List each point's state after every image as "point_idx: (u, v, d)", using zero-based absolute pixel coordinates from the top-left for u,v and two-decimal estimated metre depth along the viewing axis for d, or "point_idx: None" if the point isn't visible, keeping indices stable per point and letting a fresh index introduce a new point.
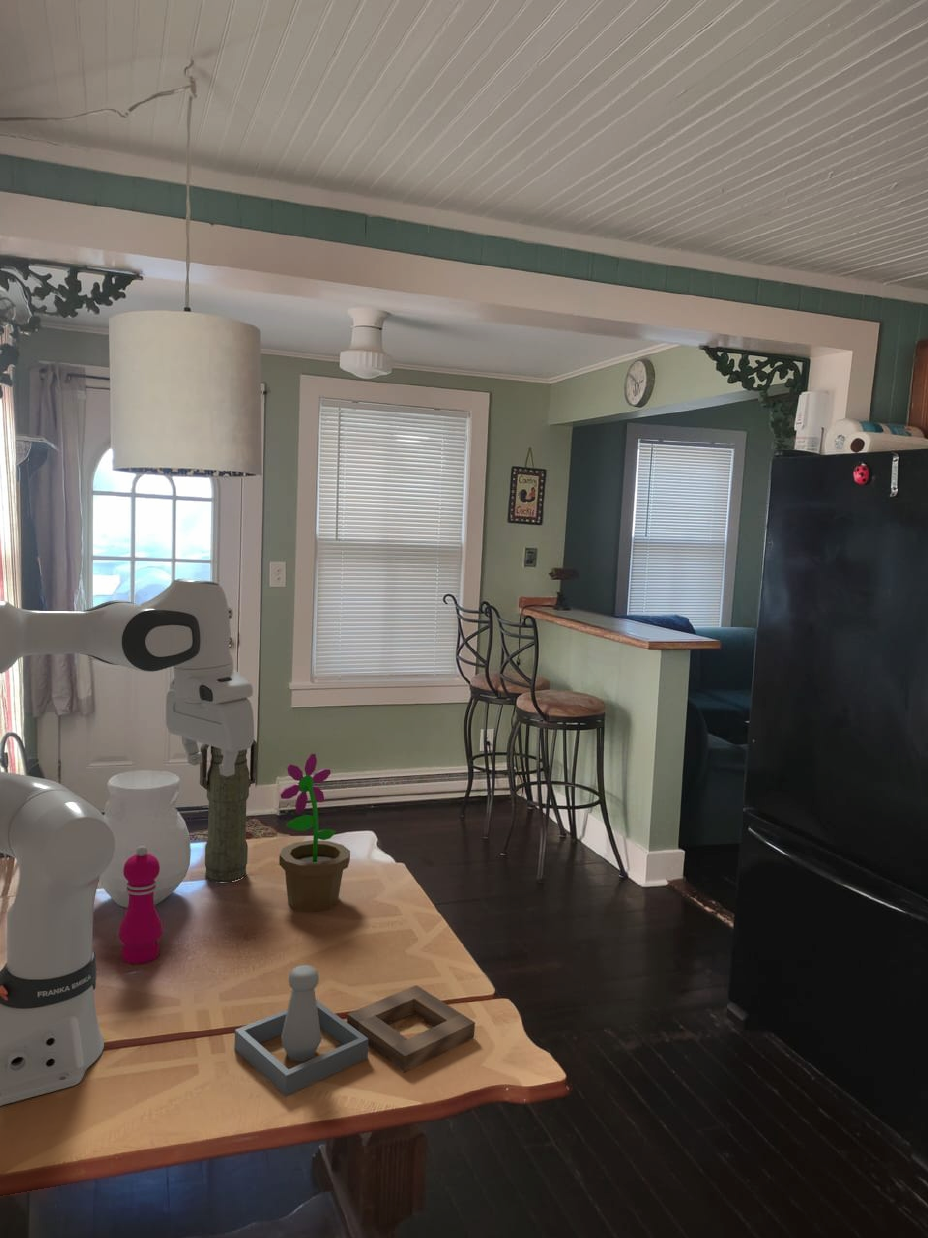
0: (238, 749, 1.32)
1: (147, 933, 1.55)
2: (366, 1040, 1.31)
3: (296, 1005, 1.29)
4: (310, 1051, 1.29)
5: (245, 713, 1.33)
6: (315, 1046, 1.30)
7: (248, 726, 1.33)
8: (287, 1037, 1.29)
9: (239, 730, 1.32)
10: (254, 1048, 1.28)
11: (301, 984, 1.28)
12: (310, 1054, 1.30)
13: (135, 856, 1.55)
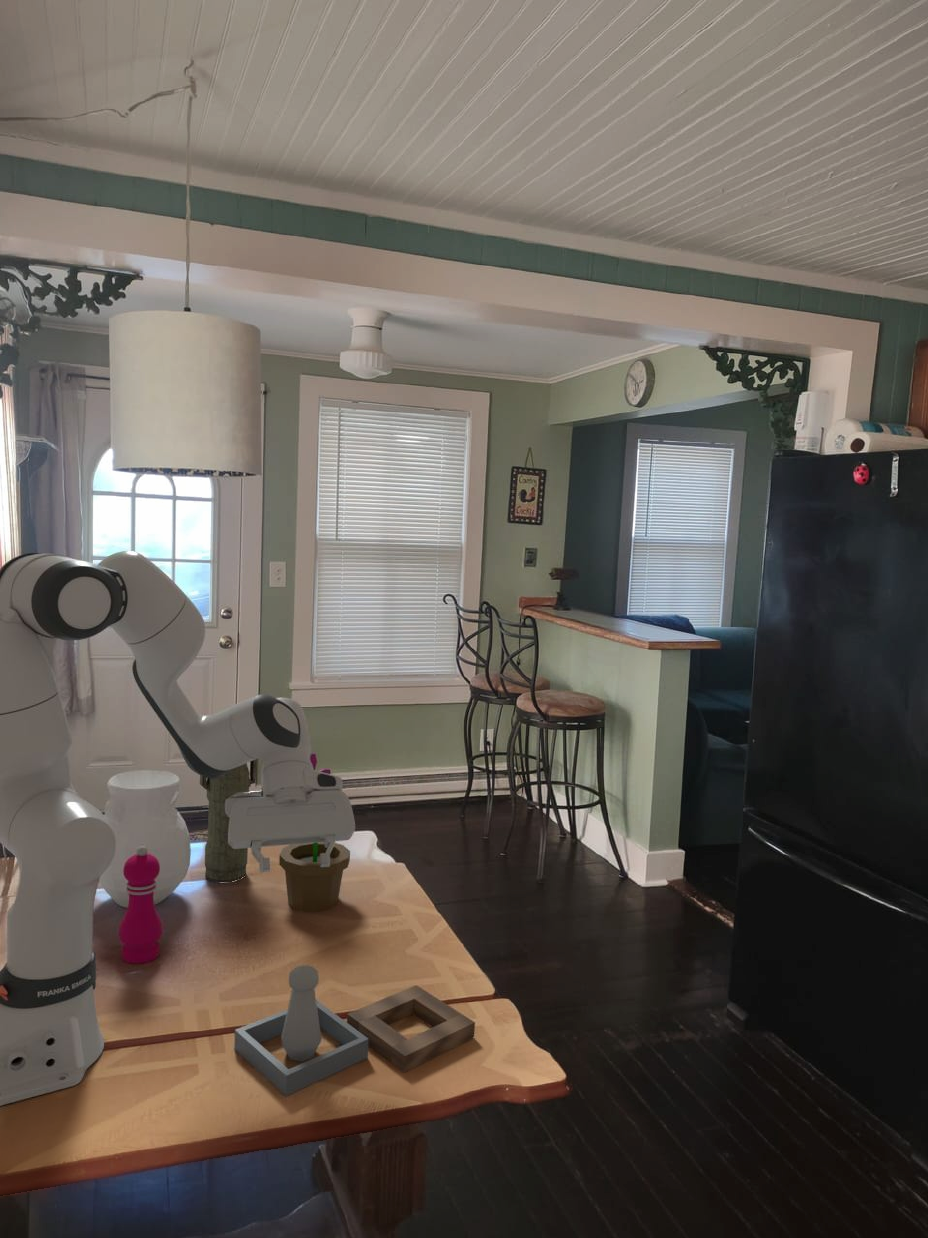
0: (353, 831, 1.46)
1: (147, 933, 1.55)
2: (366, 1040, 1.31)
3: (296, 1005, 1.29)
4: (310, 1051, 1.29)
5: None
6: (315, 1046, 1.30)
7: None
8: (287, 1037, 1.29)
9: None
10: (254, 1048, 1.28)
11: (301, 984, 1.28)
12: (310, 1054, 1.30)
13: (135, 856, 1.55)
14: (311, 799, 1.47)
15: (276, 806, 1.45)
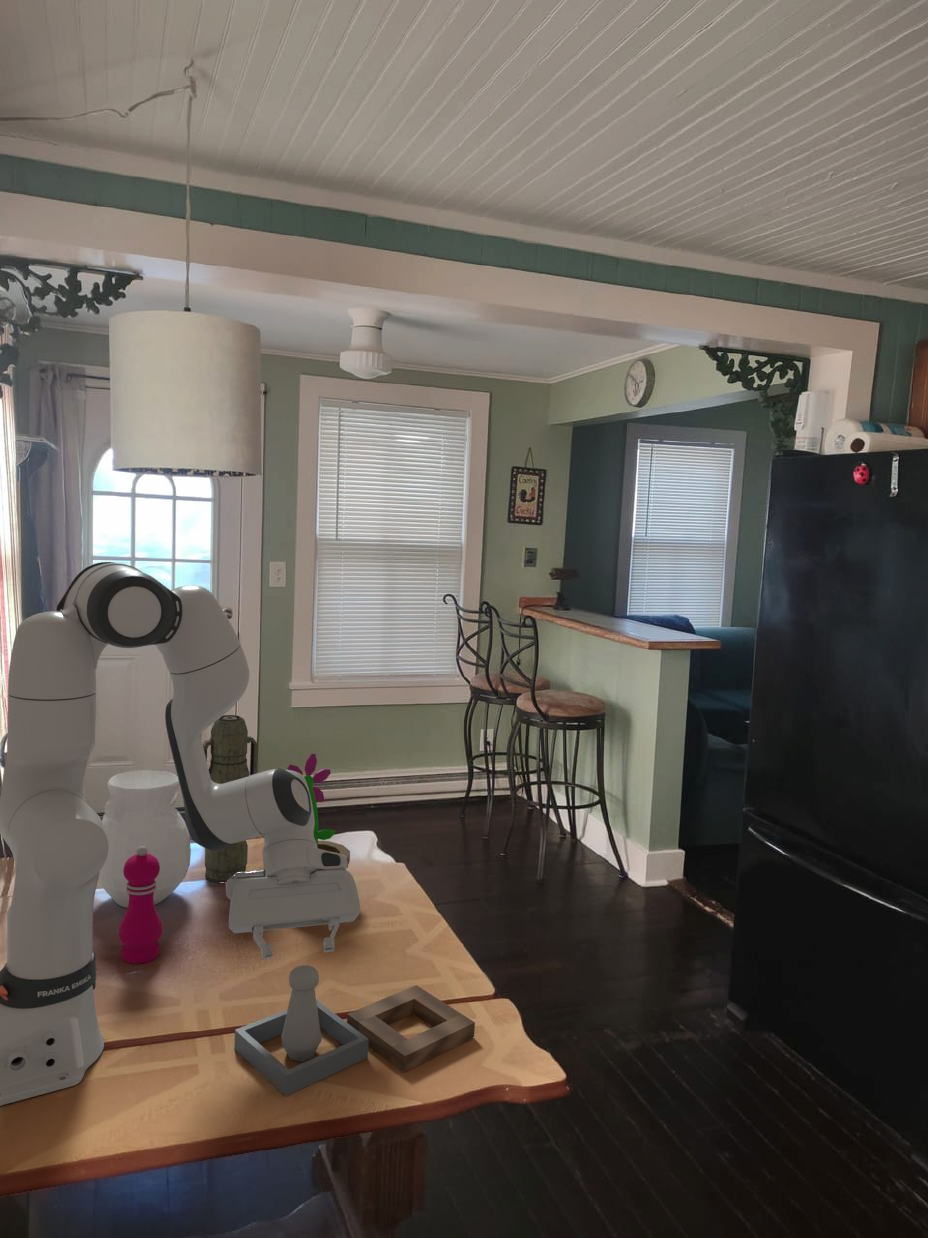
0: (358, 913, 1.42)
1: (147, 933, 1.55)
2: (366, 1040, 1.31)
3: (296, 1005, 1.29)
4: (310, 1051, 1.29)
5: None
6: (315, 1046, 1.30)
7: None
8: (287, 1037, 1.29)
9: None
10: (254, 1048, 1.28)
11: (301, 984, 1.28)
12: (310, 1054, 1.30)
13: (135, 856, 1.55)
14: (315, 879, 1.42)
15: (279, 887, 1.40)
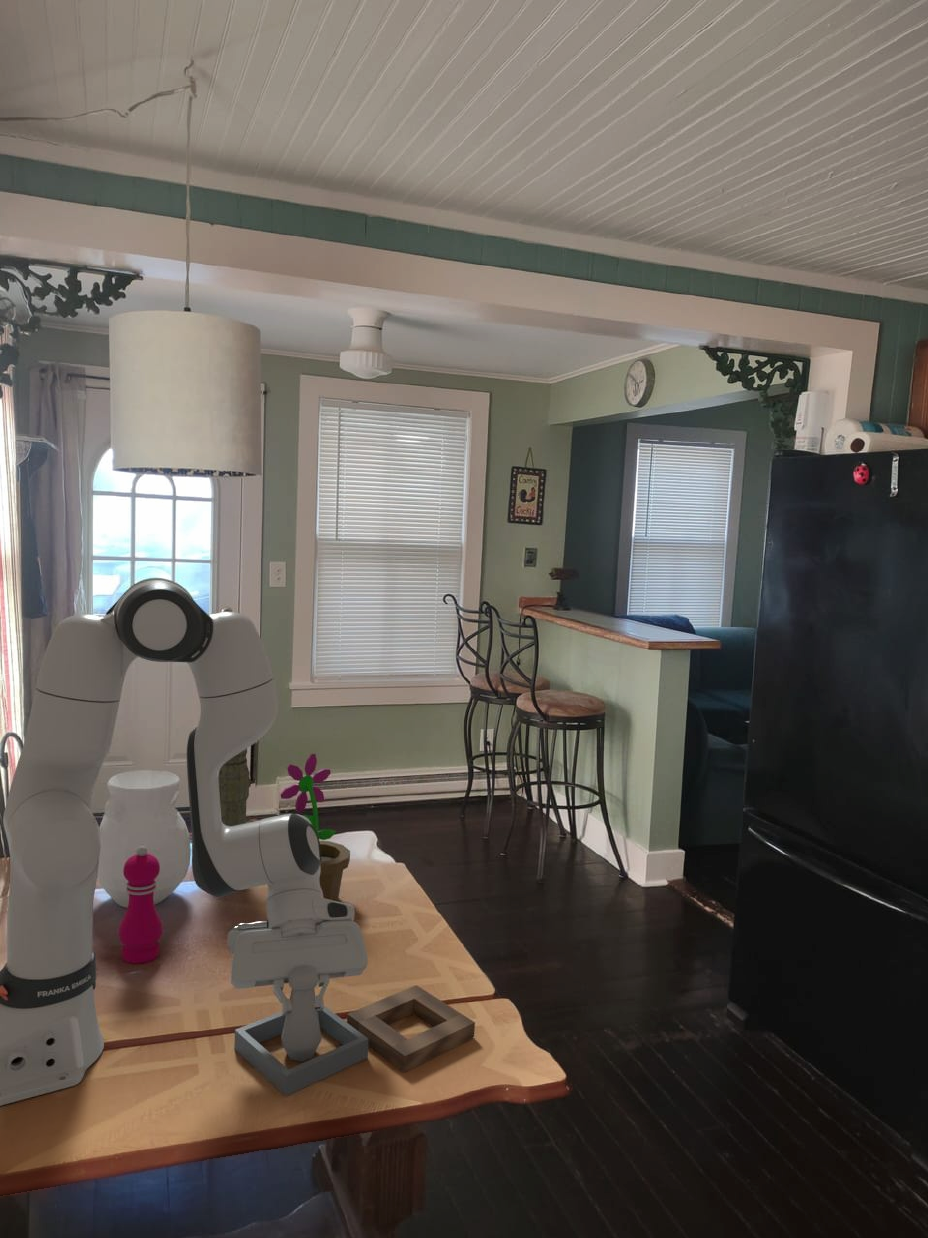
0: (365, 967, 1.36)
1: (147, 933, 1.55)
2: (366, 1040, 1.31)
3: (296, 1005, 1.29)
4: (310, 1051, 1.29)
5: None
6: (315, 1046, 1.30)
7: None
8: (287, 1037, 1.29)
9: None
10: (254, 1048, 1.28)
11: (300, 984, 1.28)
12: (310, 1054, 1.30)
13: (135, 856, 1.55)
14: (320, 931, 1.36)
15: (283, 940, 1.34)
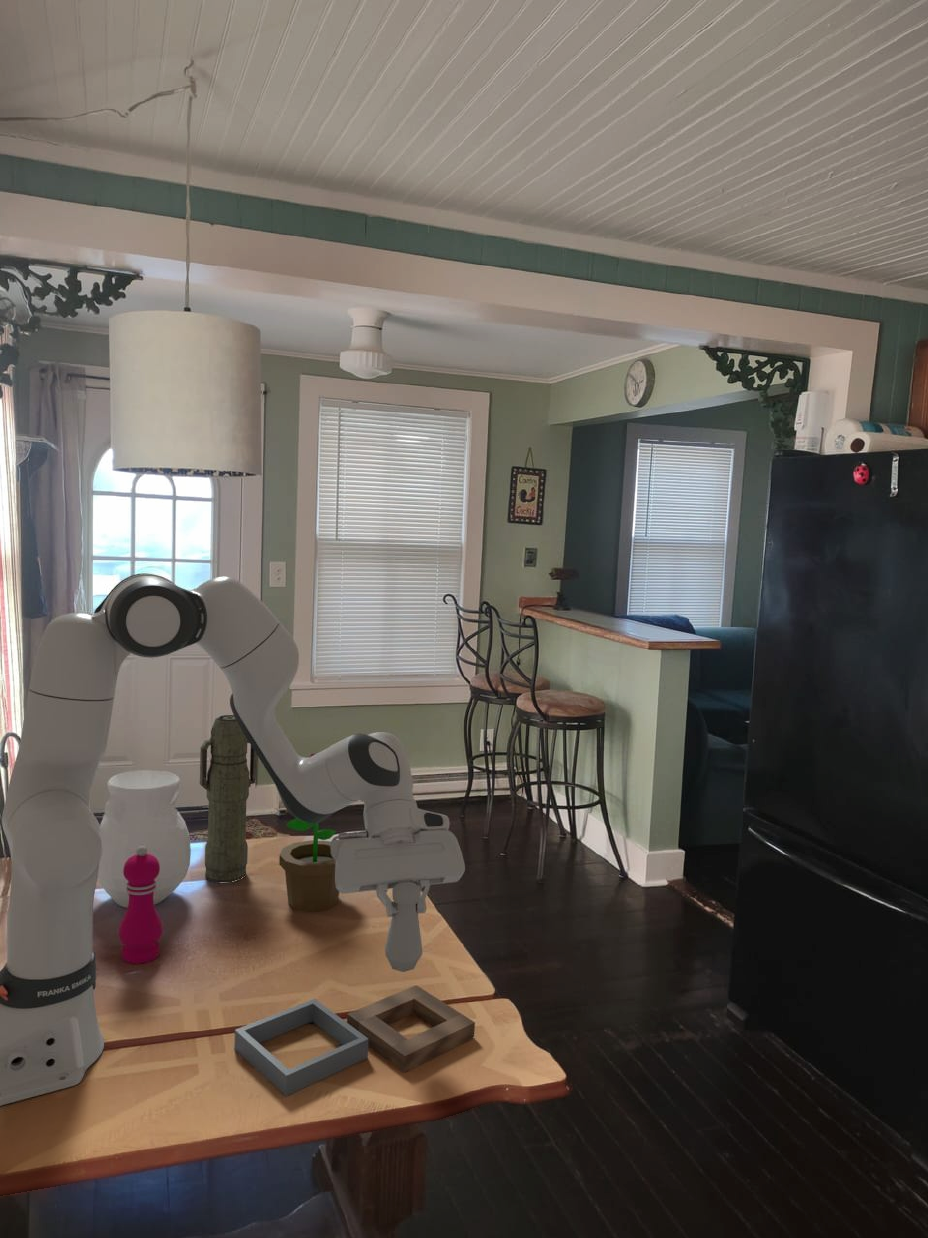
0: None
1: (147, 933, 1.55)
2: (366, 1040, 1.31)
3: (399, 918, 1.34)
4: (411, 962, 1.35)
5: None
6: (416, 958, 1.35)
7: None
8: (390, 948, 1.35)
9: None
10: (254, 1048, 1.28)
11: (403, 899, 1.33)
12: (411, 965, 1.35)
13: (135, 856, 1.55)
14: (419, 840, 1.41)
15: (383, 847, 1.39)
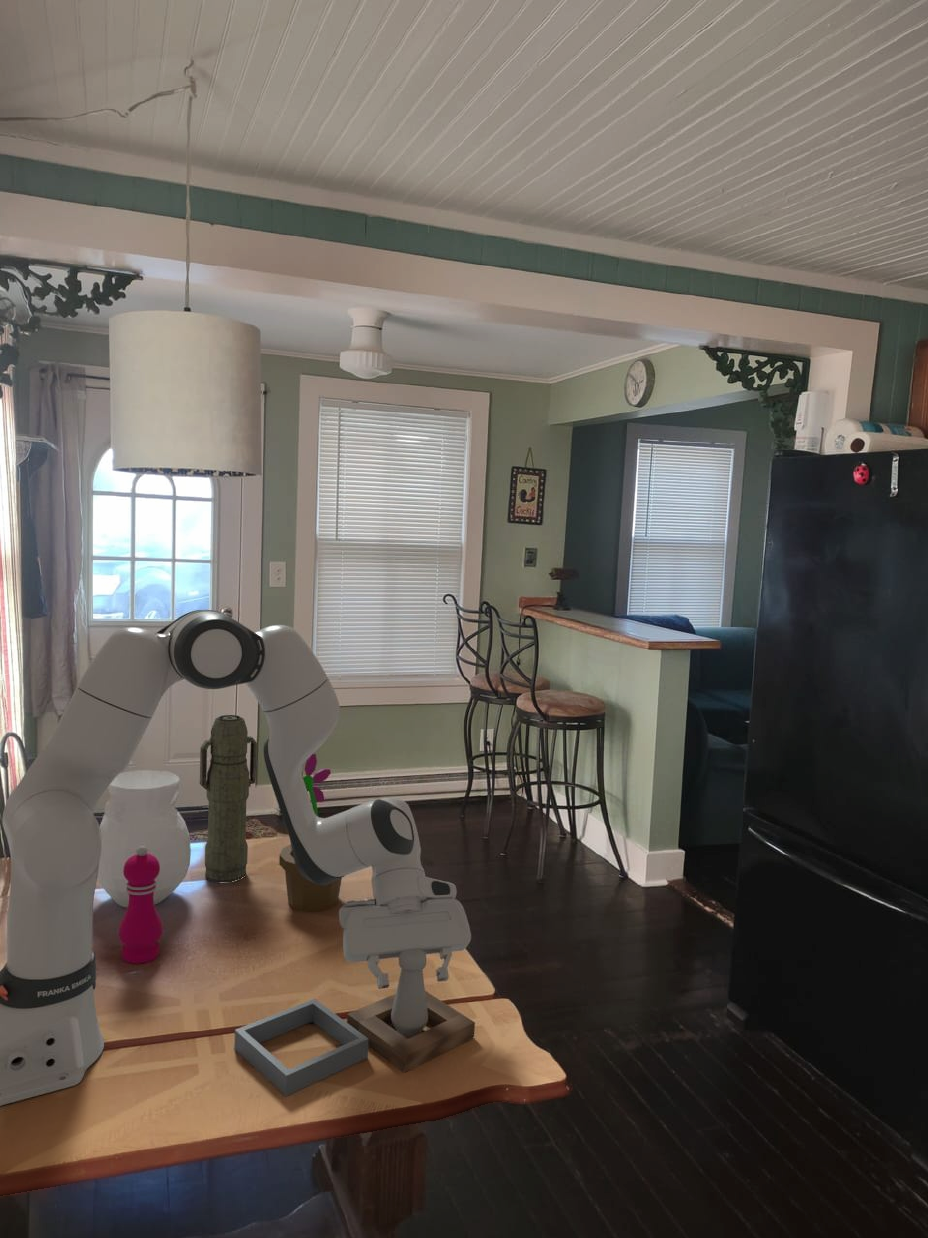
0: None
1: (147, 933, 1.55)
2: (366, 1040, 1.31)
3: (405, 985, 1.37)
4: (417, 1029, 1.36)
5: None
6: (422, 1025, 1.37)
7: None
8: (396, 1014, 1.37)
9: None
10: (254, 1048, 1.28)
11: (409, 965, 1.36)
12: (417, 1032, 1.37)
13: (135, 856, 1.55)
14: (426, 908, 1.43)
15: (391, 916, 1.41)
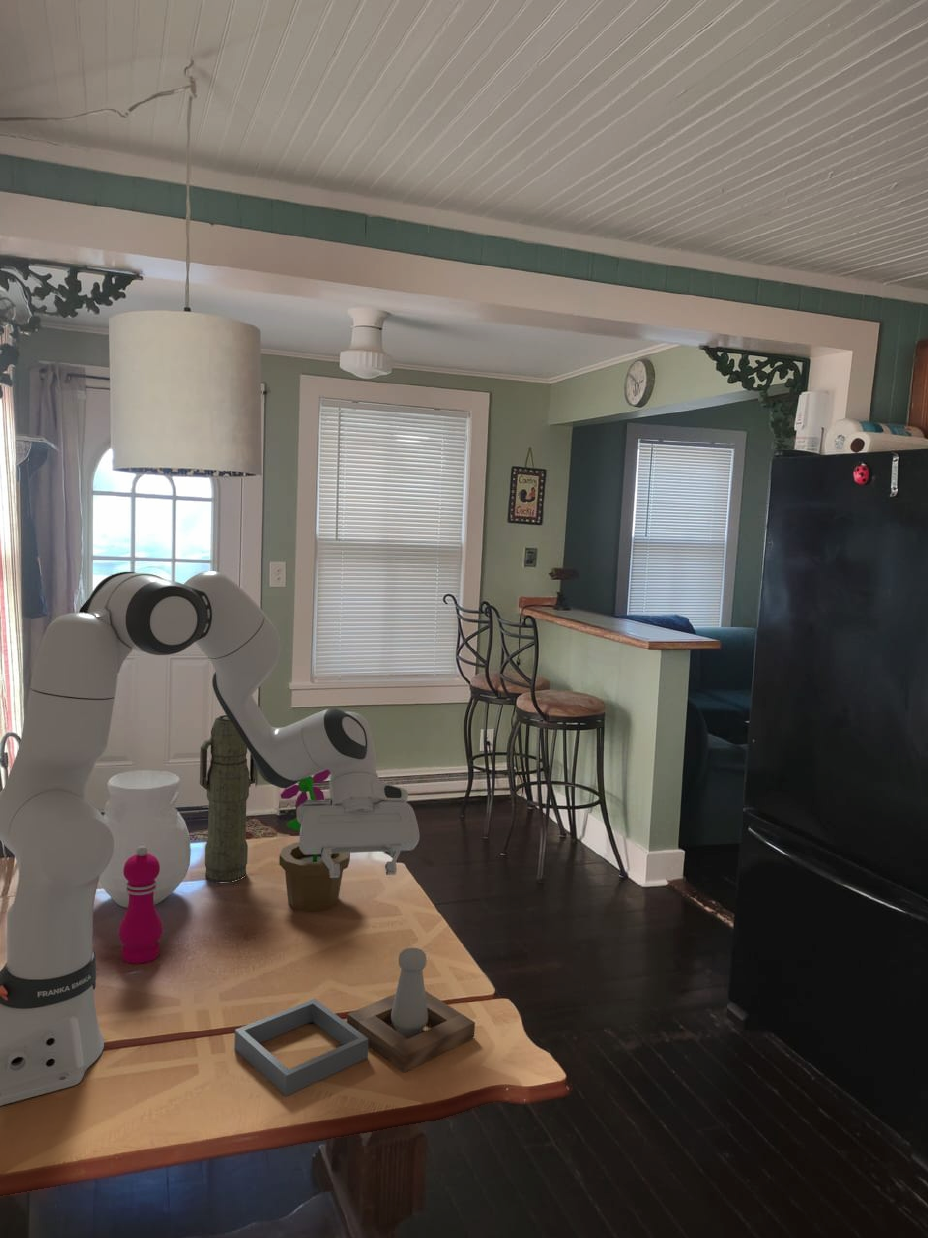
0: (417, 842, 1.53)
1: (147, 933, 1.55)
2: (366, 1040, 1.31)
3: (405, 985, 1.37)
4: (417, 1029, 1.36)
5: None
6: (422, 1025, 1.37)
7: None
8: (396, 1014, 1.37)
9: None
10: (254, 1048, 1.28)
11: (409, 965, 1.36)
12: (417, 1032, 1.37)
13: (135, 856, 1.55)
14: (378, 809, 1.53)
15: (345, 815, 1.51)
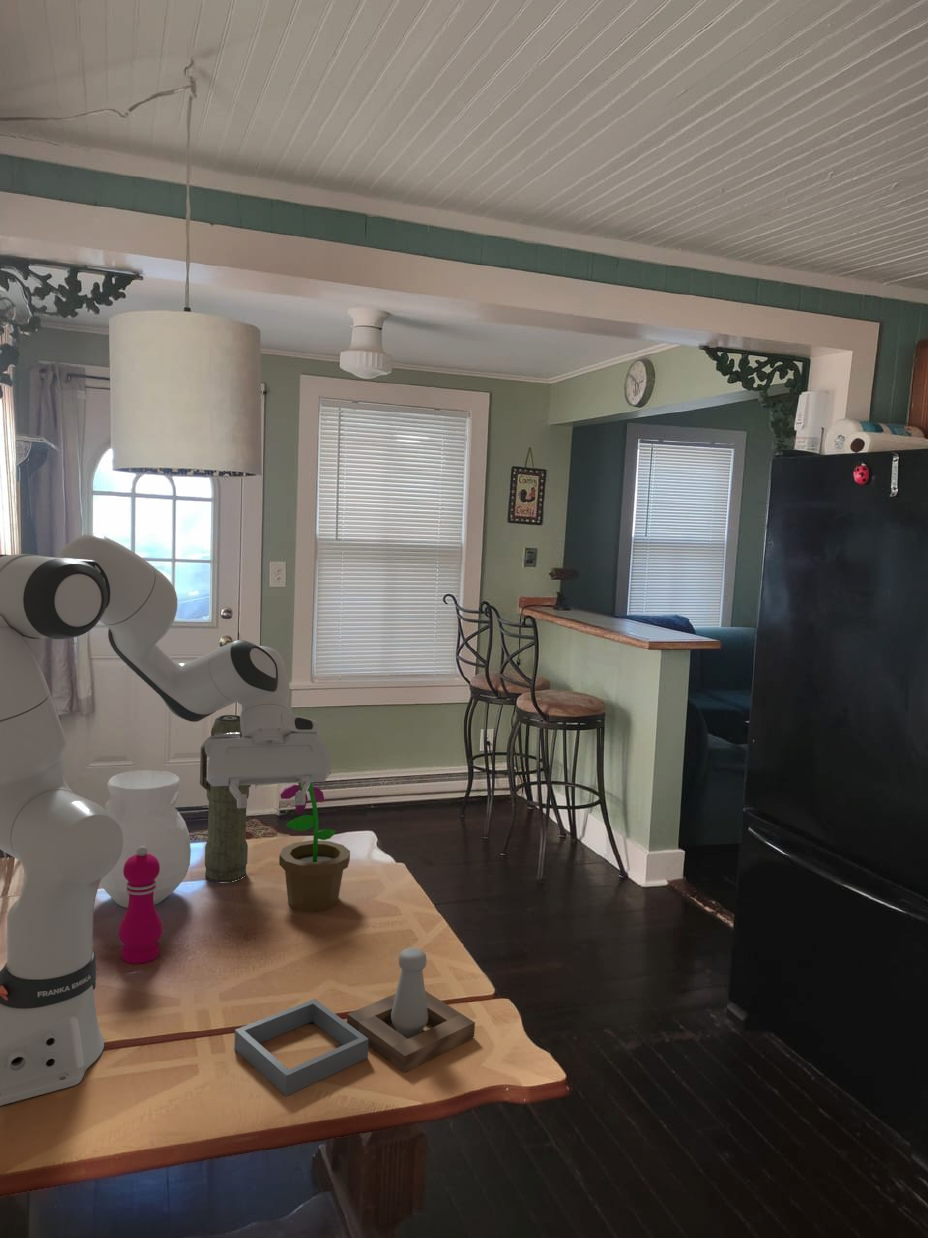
0: (328, 773, 1.52)
1: (147, 933, 1.55)
2: (366, 1040, 1.31)
3: (405, 985, 1.37)
4: (417, 1029, 1.36)
5: None
6: (422, 1025, 1.37)
7: None
8: (396, 1014, 1.37)
9: None
10: (254, 1048, 1.28)
11: (409, 965, 1.36)
12: (417, 1032, 1.37)
13: (135, 856, 1.55)
14: (288, 741, 1.52)
15: (254, 746, 1.50)
